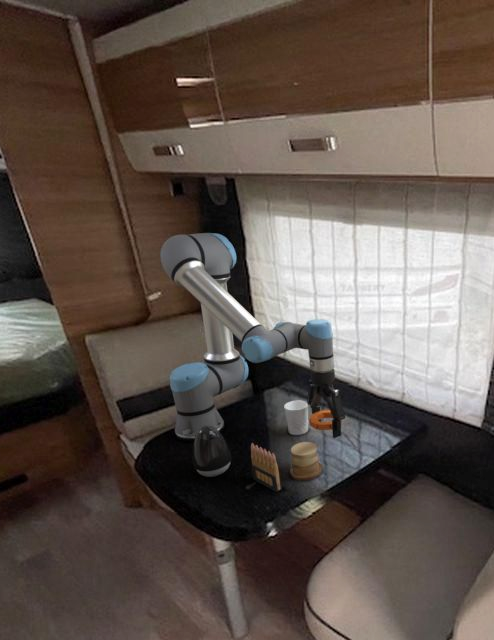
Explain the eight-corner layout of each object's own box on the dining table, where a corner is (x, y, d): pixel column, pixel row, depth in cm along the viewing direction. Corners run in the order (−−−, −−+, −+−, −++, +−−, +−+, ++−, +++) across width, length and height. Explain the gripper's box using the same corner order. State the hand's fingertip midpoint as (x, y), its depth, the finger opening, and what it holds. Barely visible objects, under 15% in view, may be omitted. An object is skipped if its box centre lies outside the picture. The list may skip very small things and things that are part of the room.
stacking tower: (284, 471, 125) (281, 448, 121) (310, 459, 131) (308, 437, 128) (301, 484, 119) (299, 460, 116) (328, 471, 125) (326, 448, 122)
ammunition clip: (282, 488, 117) (277, 452, 112) (277, 492, 116) (272, 455, 111) (258, 475, 122) (252, 440, 118) (252, 478, 121) (247, 443, 116)
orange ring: (304, 422, 138) (303, 417, 137) (329, 412, 145) (329, 407, 144) (322, 433, 132) (322, 427, 131) (348, 422, 139) (348, 417, 138)
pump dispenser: (204, 486, 117) (194, 439, 111) (190, 471, 124) (179, 426, 118) (239, 471, 124) (232, 426, 118) (224, 458, 130) (216, 414, 125)
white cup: (282, 432, 146) (279, 407, 142) (297, 423, 152) (295, 398, 148) (299, 438, 142) (296, 412, 138) (314, 428, 149) (312, 403, 145)
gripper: (291, 363, 136) (298, 423, 144) (334, 382, 121) (339, 447, 130) (311, 357, 141) (316, 416, 149) (354, 375, 126) (357, 438, 135)
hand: (327, 430), depth 140 cm, fingers closed on orange ring, 10 cm apart
